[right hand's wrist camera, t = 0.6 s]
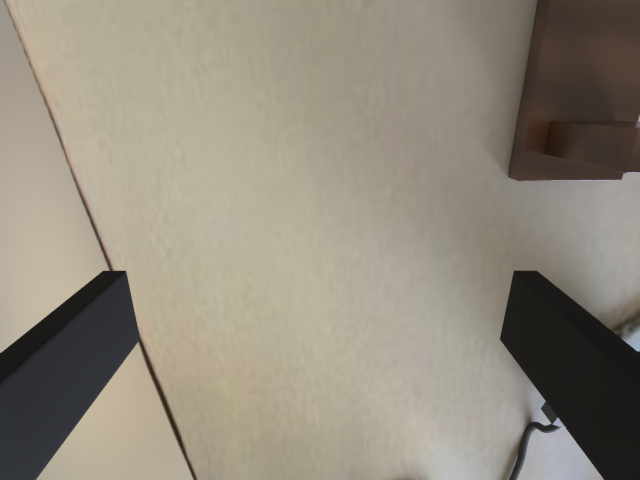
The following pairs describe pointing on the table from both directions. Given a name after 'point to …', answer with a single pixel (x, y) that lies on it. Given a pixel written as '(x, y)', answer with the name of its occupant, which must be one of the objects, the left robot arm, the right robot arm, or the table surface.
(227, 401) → the table surface
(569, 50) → the walnut stand
